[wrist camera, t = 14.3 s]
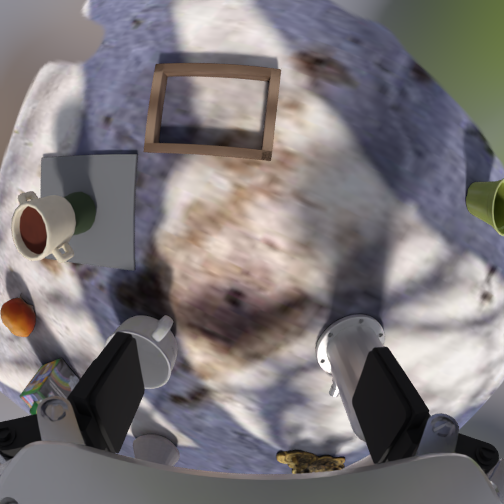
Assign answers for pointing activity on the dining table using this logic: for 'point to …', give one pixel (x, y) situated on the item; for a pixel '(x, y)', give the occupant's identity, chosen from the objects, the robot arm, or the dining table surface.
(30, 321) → the fruit
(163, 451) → the coffee pot
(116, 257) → the rubber mat
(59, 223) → the character mug
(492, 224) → the plant pot
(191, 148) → the collar
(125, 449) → the dining table surface
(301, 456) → the figurine
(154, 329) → the teacup
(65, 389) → the chalk box
